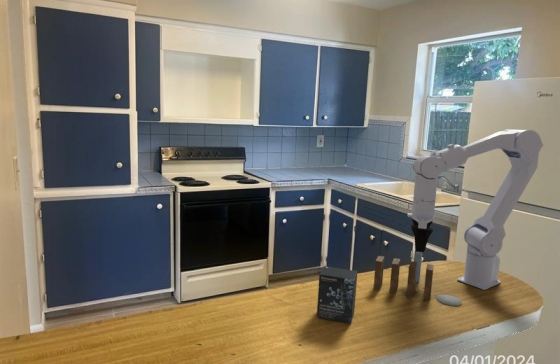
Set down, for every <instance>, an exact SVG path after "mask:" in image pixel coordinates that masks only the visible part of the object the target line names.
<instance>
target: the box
mask: <svg viewBox="0 0 560 364" xmlns="http://www.w3.org/2000/svg"><path fill="white" fill-rule="evenodd" d="M357 280H358V271H357V270H351V269H347V268H346V269H344V268H338V267H330V266H328V265H327V266H326V265H324V266H323V267H322V269H321V271H320V273H319V274H318V289H317V290H318V291H317V305H316V306H317V307H316V318H317V319H318V318H319V319H324V320H328V321H334V322H340V323H344V324H348V325H351V324H352V321H353V318H354V314H355V308H356V306H355V304H356V297H357Z"/></svg>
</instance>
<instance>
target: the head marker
mask: <svg viewBox="0 0 560 364" xmlns="http://www.w3.org/2000/svg"><path fill="white" fill-rule="evenodd" d="M435 298H436V299H435V300H436V301H437V302H438V303H441V304H443V305H445V306H450V307H459V306H461V305H462V304H463V301H462V300H461V299H460V298H458V297H456V296H453V295H450V294H439V295H436V297H435Z"/></svg>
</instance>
